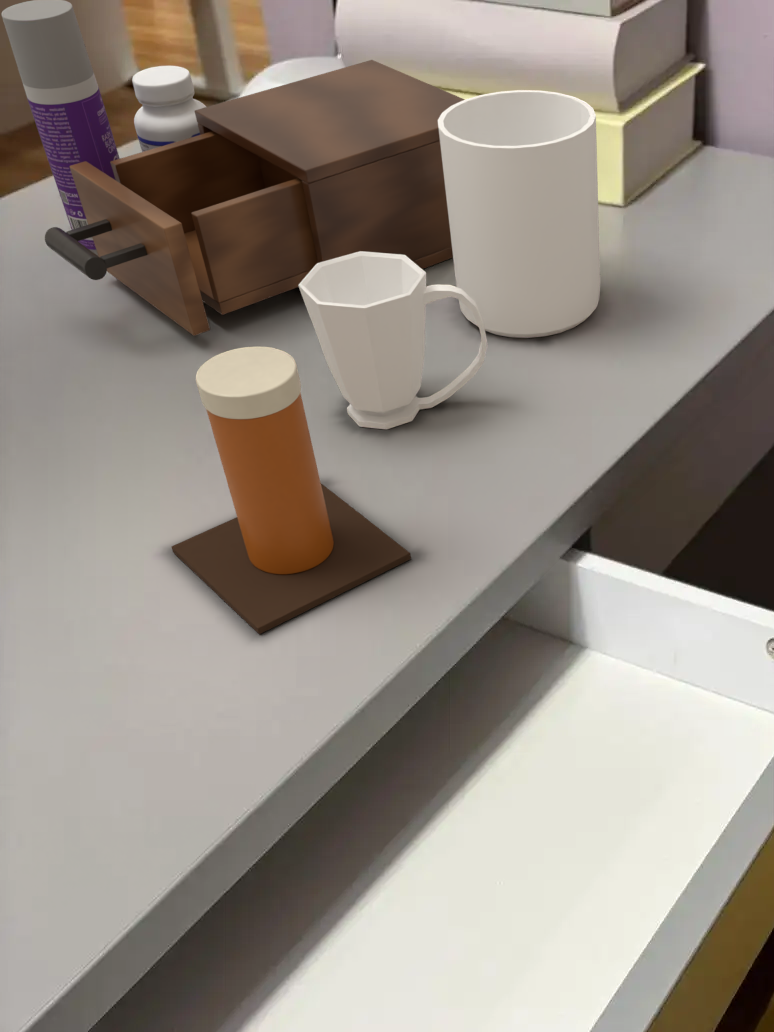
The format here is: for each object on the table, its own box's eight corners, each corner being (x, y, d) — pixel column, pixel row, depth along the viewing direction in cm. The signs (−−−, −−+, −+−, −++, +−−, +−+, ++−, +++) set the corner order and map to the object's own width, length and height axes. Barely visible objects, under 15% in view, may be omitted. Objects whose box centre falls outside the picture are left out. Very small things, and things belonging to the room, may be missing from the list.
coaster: (259, 634, 60) (257, 628, 60) (172, 552, 65) (170, 546, 65) (411, 559, 64) (410, 552, 64) (319, 486, 69) (318, 480, 69)
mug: (453, 344, 80) (430, 150, 71) (466, 261, 88) (446, 78, 79) (601, 339, 79) (596, 145, 71) (600, 257, 88) (595, 73, 79)
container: (152, 245, 91) (84, 10, 80) (90, 263, 89) (11, 25, 78) (130, 224, 93) (61, -7, 82) (69, 240, 92) (-10, 8, 81)
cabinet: (331, 304, 84) (305, 170, 77) (224, 236, 91) (193, 110, 85) (502, 239, 90) (491, 110, 84) (389, 181, 98) (372, 59, 91)
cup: (325, 386, 76) (298, 255, 70) (486, 369, 77) (473, 239, 71) (326, 448, 72) (297, 313, 66) (498, 429, 73) (485, 294, 67)
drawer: (133, 359, 78) (98, 249, 72) (44, 287, 85) (7, 183, 80) (371, 270, 85) (354, 166, 80) (271, 211, 92) (249, 112, 87)
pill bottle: (222, 195, 96) (188, 56, 89) (243, 221, 93) (209, 78, 86) (153, 211, 95) (113, 70, 88) (171, 237, 92) (131, 93, 84)
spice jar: (275, 588, 62) (226, 407, 55) (230, 547, 65) (177, 368, 57) (352, 550, 64) (315, 371, 57) (306, 512, 67) (264, 335, 59)
